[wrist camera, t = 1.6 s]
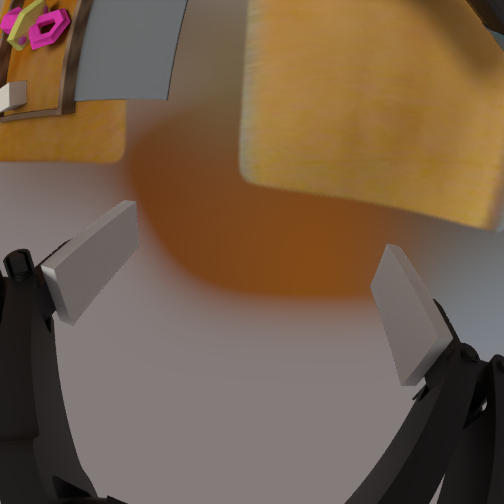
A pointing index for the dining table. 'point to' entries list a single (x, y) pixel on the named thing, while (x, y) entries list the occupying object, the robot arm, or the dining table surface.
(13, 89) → the cream block
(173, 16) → the mat
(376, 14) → the dining table surface
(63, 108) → the brown wooden frame
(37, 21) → the toy
